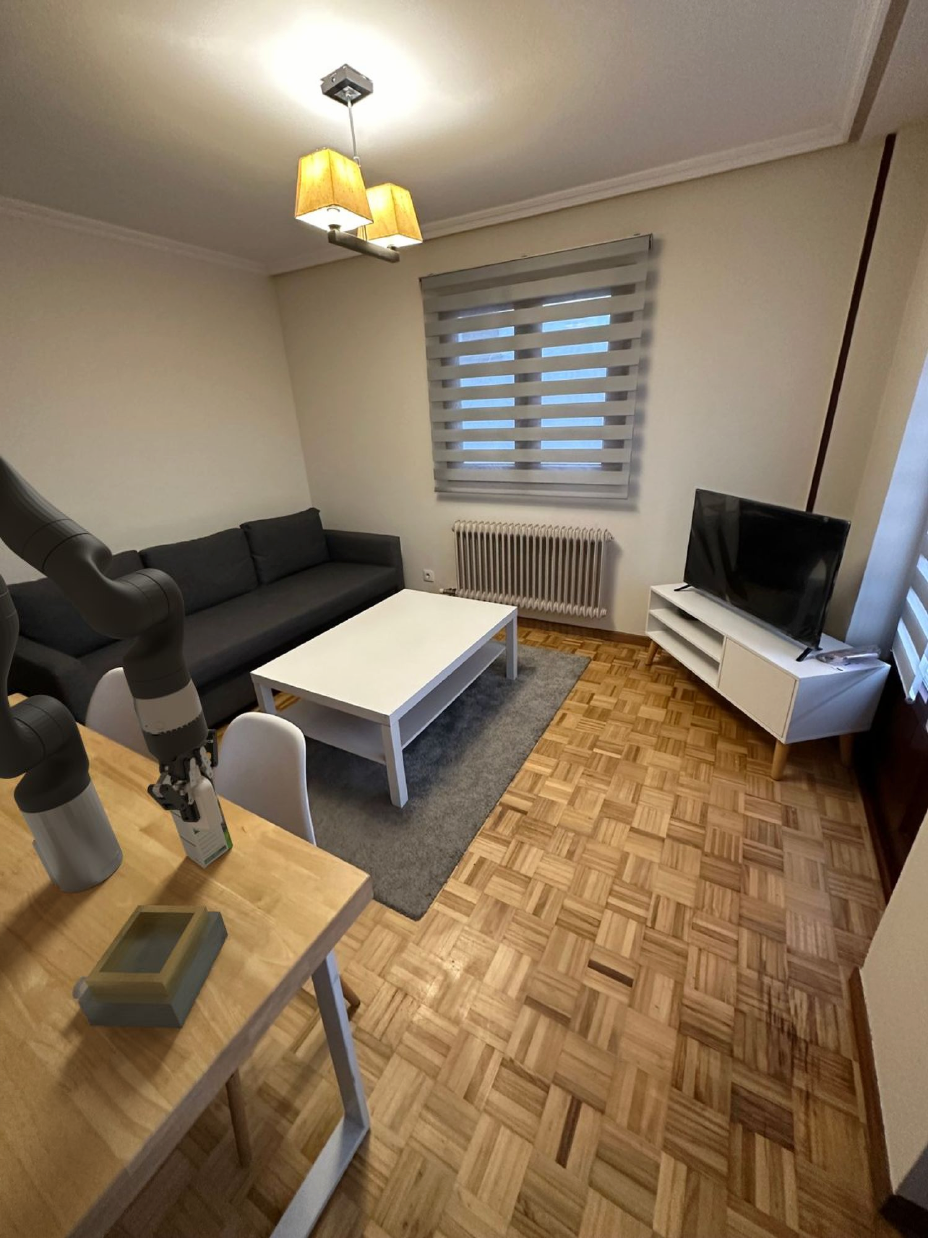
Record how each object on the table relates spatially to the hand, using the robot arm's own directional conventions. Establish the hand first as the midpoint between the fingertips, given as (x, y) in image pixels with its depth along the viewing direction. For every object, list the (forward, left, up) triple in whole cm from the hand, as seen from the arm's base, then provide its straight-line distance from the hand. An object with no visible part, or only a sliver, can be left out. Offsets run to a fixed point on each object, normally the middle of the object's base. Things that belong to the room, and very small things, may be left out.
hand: (200, 809), depth 73 cm
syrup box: (-7, +7, -17) cm, 20 cm away
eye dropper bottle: (0, 0, -3) cm, 3 cm away
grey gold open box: (-3, -14, -17) cm, 22 cm away
